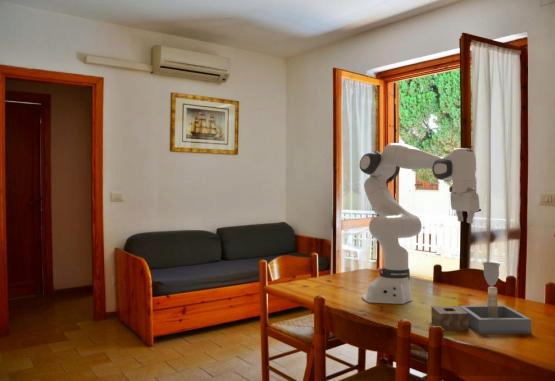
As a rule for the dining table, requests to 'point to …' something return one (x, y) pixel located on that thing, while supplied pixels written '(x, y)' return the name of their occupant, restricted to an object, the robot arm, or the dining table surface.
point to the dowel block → (450, 317)
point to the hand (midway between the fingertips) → (464, 222)
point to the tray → (497, 320)
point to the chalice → (491, 273)
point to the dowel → (492, 302)
